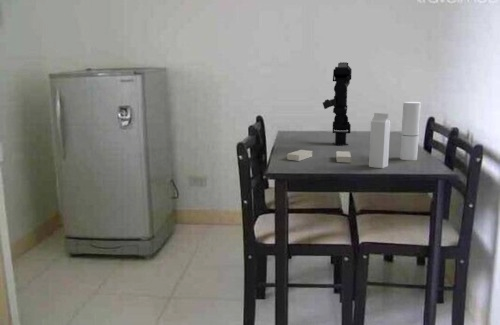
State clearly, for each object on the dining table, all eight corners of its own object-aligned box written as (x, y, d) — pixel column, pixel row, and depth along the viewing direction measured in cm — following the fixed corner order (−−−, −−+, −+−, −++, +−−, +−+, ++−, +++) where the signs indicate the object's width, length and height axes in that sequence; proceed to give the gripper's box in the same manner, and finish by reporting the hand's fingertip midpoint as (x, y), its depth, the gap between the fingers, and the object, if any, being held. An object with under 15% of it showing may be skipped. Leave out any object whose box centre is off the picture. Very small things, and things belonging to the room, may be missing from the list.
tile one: (336, 151, 213) (336, 156, 201) (349, 151, 212) (351, 156, 201) (336, 156, 214) (336, 162, 202) (349, 157, 213) (350, 162, 201)
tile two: (300, 149, 217) (287, 153, 208) (312, 151, 214) (299, 155, 204) (300, 155, 218) (287, 159, 209) (312, 156, 215) (298, 161, 205)
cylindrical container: (417, 157, 210) (421, 101, 205) (416, 161, 204) (420, 103, 198) (401, 156, 213) (404, 101, 208) (399, 159, 207) (402, 102, 201)
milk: (374, 164, 198) (376, 112, 194) (388, 166, 195) (391, 113, 190) (368, 166, 194) (371, 113, 189) (382, 168, 190) (385, 114, 185)
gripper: (325, 92, 233) (324, 123, 236) (322, 94, 215) (321, 128, 219) (347, 92, 231) (346, 123, 234) (347, 95, 213) (346, 129, 216)
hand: (339, 126), depth 226 cm, fingers closed
